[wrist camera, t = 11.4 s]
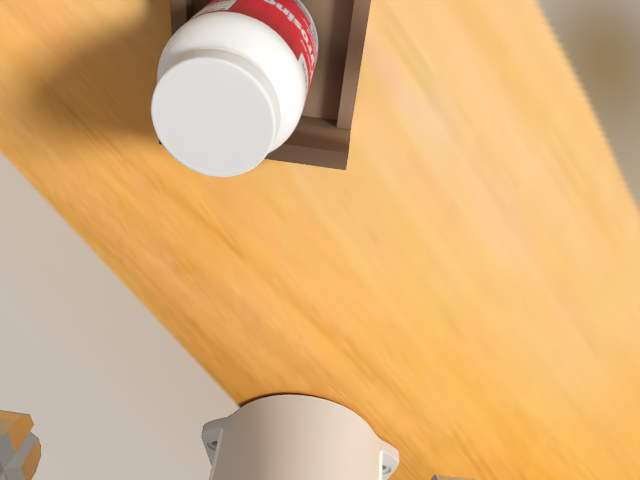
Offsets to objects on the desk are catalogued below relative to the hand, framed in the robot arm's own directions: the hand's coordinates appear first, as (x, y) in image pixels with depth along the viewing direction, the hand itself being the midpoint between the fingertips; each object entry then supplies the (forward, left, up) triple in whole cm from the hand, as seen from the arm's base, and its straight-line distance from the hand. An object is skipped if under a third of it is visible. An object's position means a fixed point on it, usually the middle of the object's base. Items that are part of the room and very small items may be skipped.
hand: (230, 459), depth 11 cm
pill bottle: (+2, +3, -23) cm, 24 cm away
